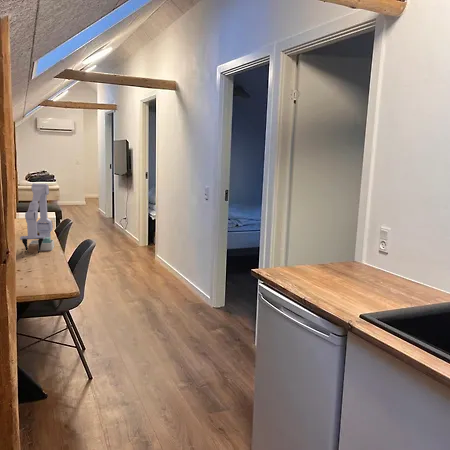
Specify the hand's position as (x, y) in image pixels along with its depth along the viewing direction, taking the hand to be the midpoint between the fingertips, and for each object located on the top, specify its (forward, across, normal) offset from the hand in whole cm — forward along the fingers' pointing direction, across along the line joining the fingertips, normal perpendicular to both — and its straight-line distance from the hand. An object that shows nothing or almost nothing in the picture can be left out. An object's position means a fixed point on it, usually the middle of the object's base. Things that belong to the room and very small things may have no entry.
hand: (33, 250), depth 290 cm
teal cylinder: (+1, +7, +10) cm, 12 cm away
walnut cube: (+2, 0, 0) cm, 2 cm away
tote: (+2, +4, +10) cm, 11 cm away
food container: (+2, -6, +60) cm, 60 cm away
